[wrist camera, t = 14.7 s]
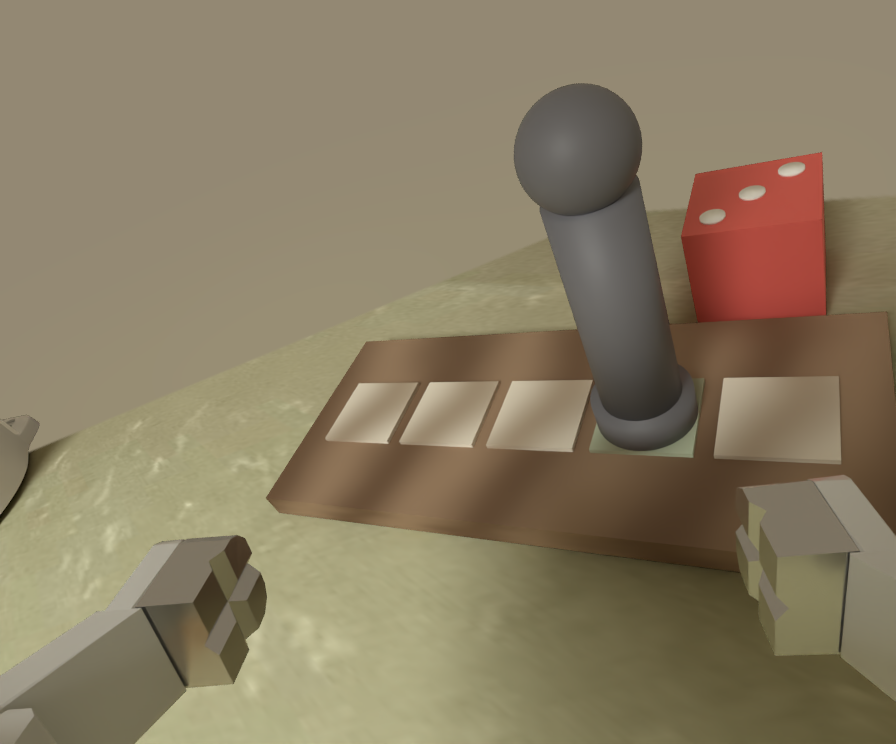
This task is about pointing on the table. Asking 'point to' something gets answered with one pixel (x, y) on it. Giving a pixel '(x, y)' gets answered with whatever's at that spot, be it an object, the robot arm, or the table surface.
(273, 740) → the table surface
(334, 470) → the track board
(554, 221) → the pawn
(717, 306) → the red die
